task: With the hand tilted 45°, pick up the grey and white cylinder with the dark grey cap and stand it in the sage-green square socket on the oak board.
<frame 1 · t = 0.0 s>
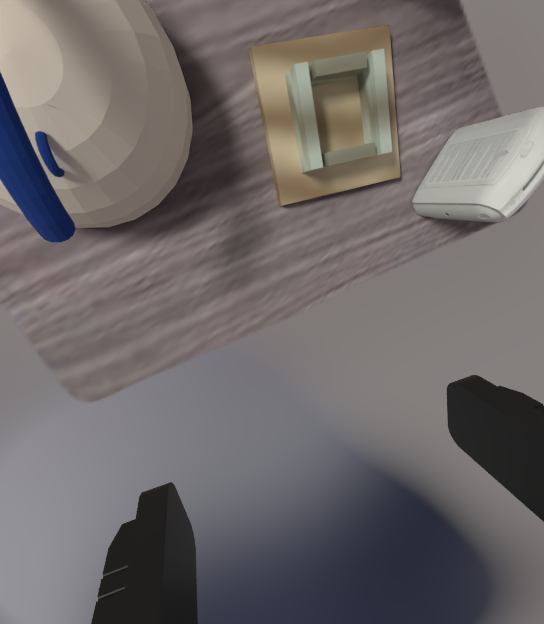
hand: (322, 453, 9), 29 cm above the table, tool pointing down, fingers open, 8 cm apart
photo printer: (439, 176, 39), on the table
kettle: (74, 109, 29), on the table
holder: (329, 121, 34), on the table
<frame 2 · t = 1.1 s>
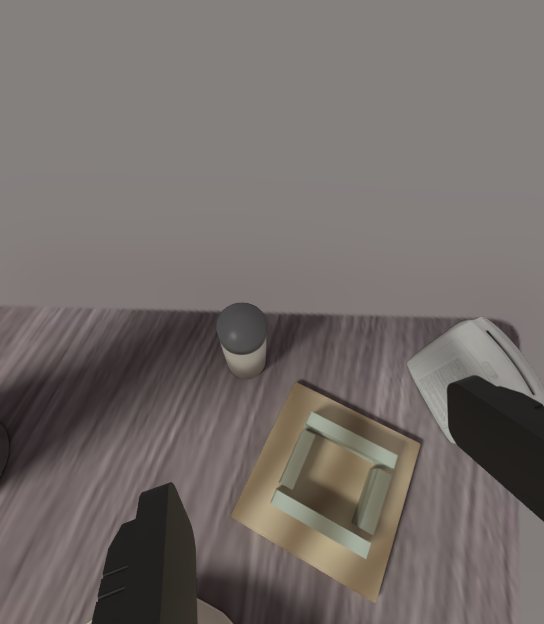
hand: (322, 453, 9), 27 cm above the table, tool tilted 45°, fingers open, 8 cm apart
photo printer: (439, 397, 37), on the table
grey and white cylinder: (246, 360, 38), on the table
holder: (328, 478, 33), on the table
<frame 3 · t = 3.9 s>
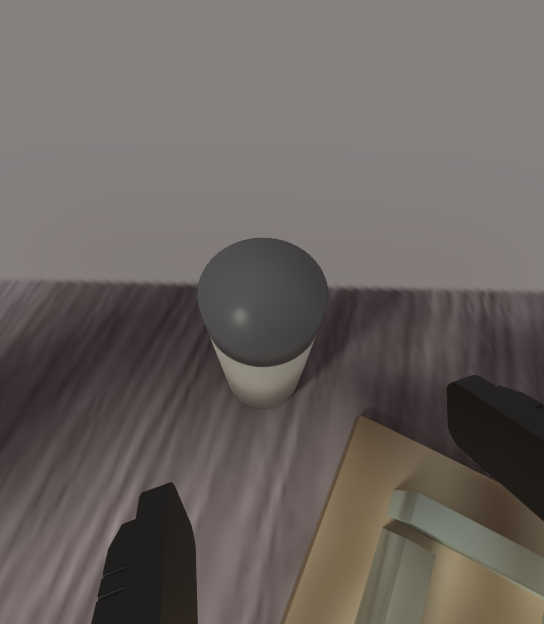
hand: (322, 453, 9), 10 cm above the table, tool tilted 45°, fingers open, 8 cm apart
grey and white cylinder: (263, 371, 20), on the table
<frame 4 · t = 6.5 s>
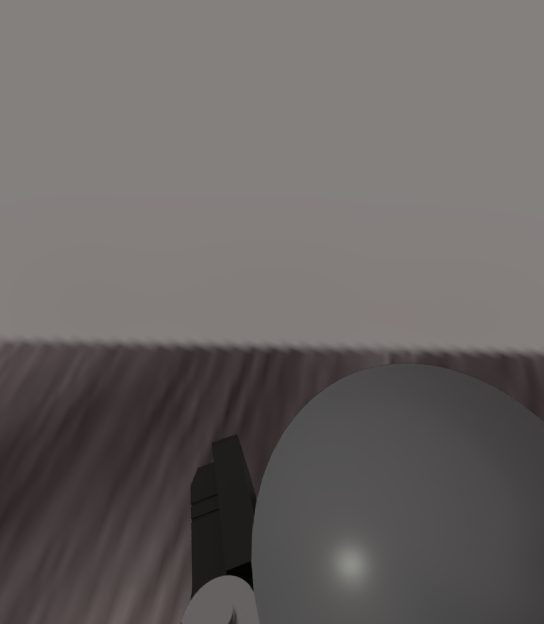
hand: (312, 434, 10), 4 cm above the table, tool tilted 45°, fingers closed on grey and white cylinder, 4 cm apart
grey and white cylinder: (317, 495, 13), on the table, touching gripper
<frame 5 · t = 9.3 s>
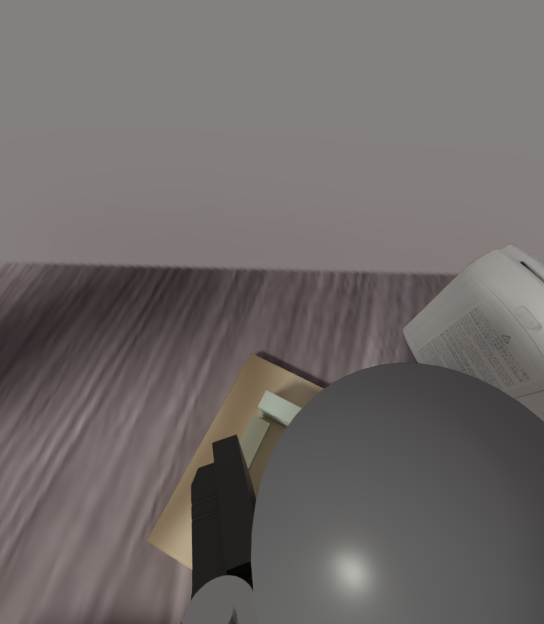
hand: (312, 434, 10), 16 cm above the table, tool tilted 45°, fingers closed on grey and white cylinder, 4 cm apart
photo printer: (445, 374, 27), on the table
grey and white cylinder: (317, 495, 13), point 12 cm above the table, touching gripper
holder: (292, 484, 23), on the table
when the fingers open (7 cm above the table, at t = 12.2 s): grey and white cylinder drops 1 cm, resting on holder.
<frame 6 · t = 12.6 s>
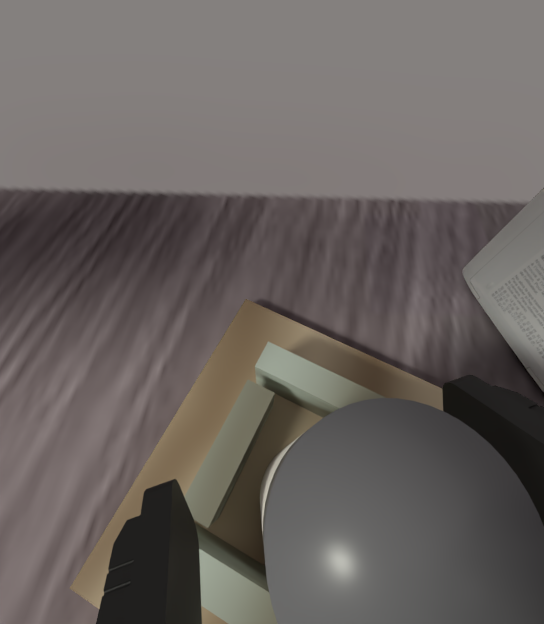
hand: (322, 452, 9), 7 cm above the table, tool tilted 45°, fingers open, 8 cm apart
photo printer: (527, 332, 19), on the table
grey and white cylinder: (311, 496, 14), point 1 cm above the table, touching holder
holder: (309, 492, 15), on the table
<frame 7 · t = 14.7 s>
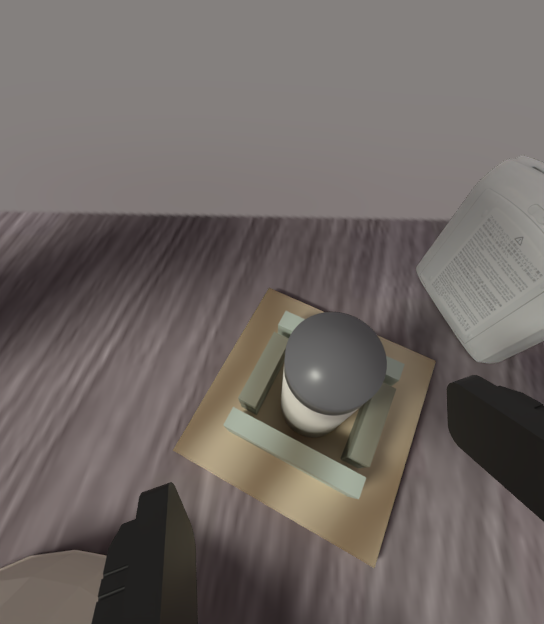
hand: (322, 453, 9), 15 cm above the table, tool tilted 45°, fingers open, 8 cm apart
photo printer: (458, 310, 28), on the table
grey and white cylinder: (311, 404, 23), point 1 cm above the table, touching holder
holder: (310, 405, 24), on the table
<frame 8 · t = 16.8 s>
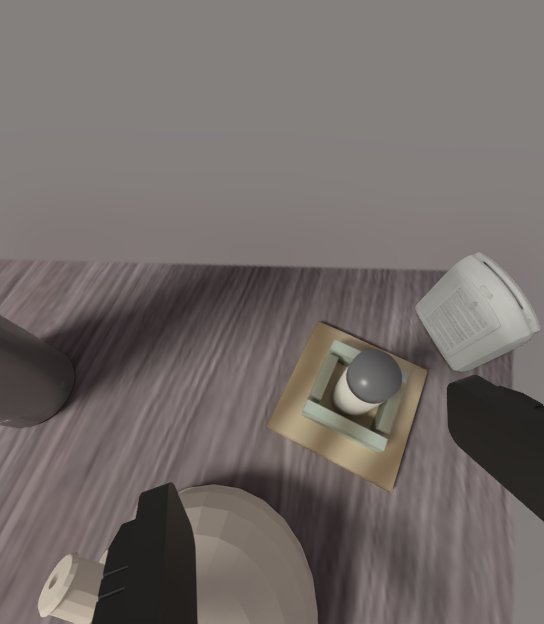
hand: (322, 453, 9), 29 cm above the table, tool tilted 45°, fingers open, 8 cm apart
photo printer: (443, 335, 42), on the table
grey and white cylinder: (350, 397, 37), point 1 cm above the table, touching holder
kettle: (204, 609, 30), on the table
holder: (348, 398, 38), on the table
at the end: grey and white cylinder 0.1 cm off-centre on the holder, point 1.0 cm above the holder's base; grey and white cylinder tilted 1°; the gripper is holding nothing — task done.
